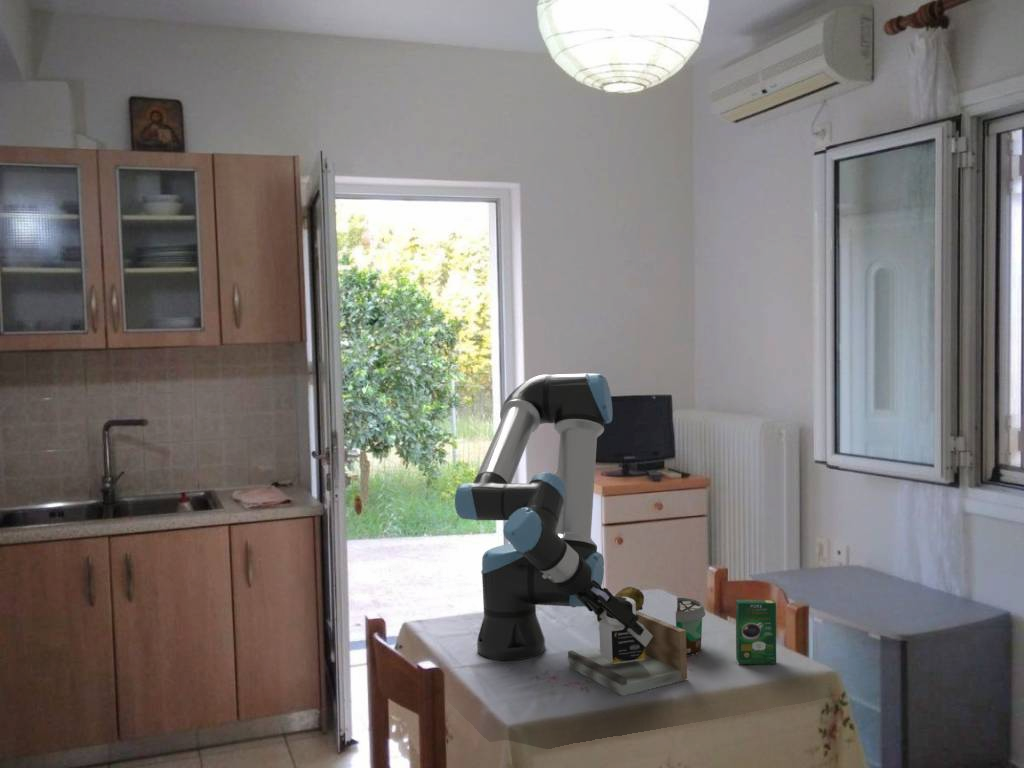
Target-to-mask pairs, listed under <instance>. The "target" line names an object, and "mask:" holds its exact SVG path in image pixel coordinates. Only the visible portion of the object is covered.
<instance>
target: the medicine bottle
mask: <svg viewBox="0 0 1024 768" xmlns="http://www.w3.org/2000/svg"><path fill="white" fill-rule="evenodd" d="M615 598H616V599H618V600H619V601H620V602H621V603H622V604H623V605H624V606H626V607H627V608H628V609H629V610H630V611H631V612H632V613H634V614H635V615H636V602H635V601H634V600H633V599H631V598H628V597H615ZM640 624H641V623H640ZM598 625H599V626H598V627H599V629H598V630H599V650H600V653H601V654H602V655H603V656H604V657H605V658H607V659H608V660H609V661H610V662H611V663H612V664H618V663H625V662H633V661H640V660H644V659H645V646H643V645H642V644H641V643H640V642H639V641H638V640H637V639H636V638H635V637H634V636H632V635H631V634H630V633H629V632H628V631H624V630H623V629H624V627H625V626H624V625H623V624H622V623H620V622H619V621H618V620H616V619H615V618H614V617H613V616H611V615H610V614H609V613H608V612H606V619H605V620H600V621H599V622H598ZM641 625H642V624H641ZM642 626H643V625H642ZM643 627H644V626H643Z"/></svg>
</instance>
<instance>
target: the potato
mask: <svg viewBox="0 0 1024 768" xmlns="http://www.w3.org/2000/svg"><path fill="white" fill-rule="evenodd" d="M613 596H614V597H628V598H631V599H633V600H634V601H635V602H636V611H642V610H643V609H644V608H643V606H644V603H645V595H644V593H643V592H642V591H641V590H640V589H639V588H636V587H632V586H627V587H623V588H622V589H621V590H619V591H617V593H616V594H614V595H613ZM596 620H597V622H598V623H599V621H600V620H602V619H601V618H600V614H599V615H596Z"/></svg>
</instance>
